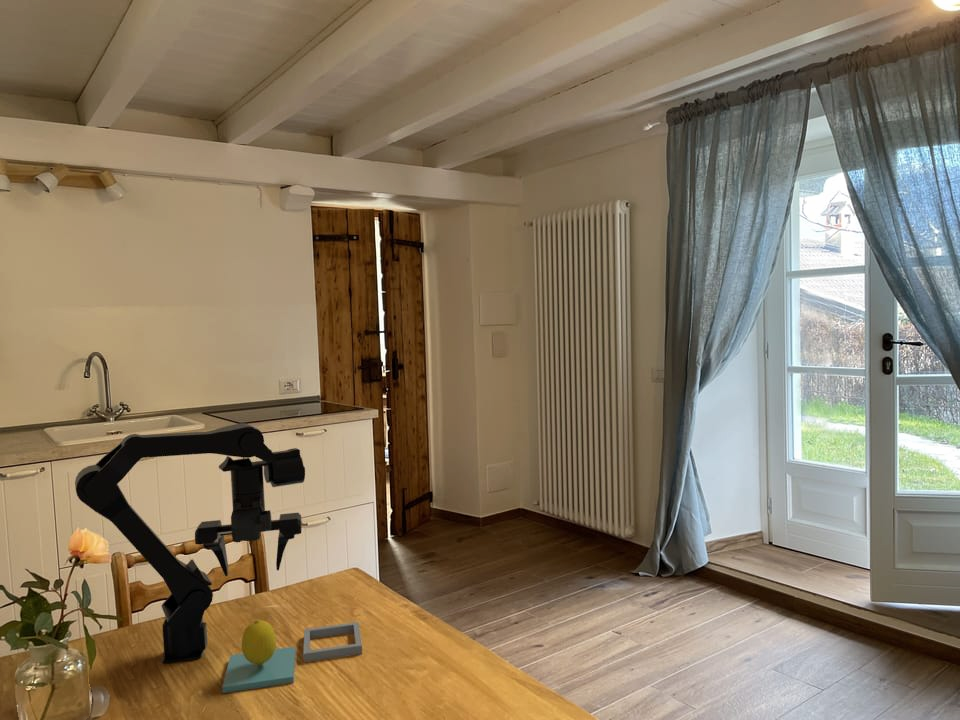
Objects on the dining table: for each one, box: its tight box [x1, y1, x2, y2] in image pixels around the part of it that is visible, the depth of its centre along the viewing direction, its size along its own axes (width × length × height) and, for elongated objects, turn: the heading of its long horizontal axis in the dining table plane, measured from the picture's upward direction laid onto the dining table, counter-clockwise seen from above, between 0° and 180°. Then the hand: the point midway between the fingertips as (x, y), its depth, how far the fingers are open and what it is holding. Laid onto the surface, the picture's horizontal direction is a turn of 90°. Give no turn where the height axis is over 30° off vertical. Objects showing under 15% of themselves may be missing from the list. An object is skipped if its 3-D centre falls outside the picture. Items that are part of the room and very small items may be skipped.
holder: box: [303, 621, 363, 663], centre depth 126 cm, size 10×10×2 cm
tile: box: [221, 645, 297, 694], centre depth 117 cm, size 11×11×1 cm
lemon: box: [241, 618, 277, 666], centre depth 117 cm, size 6×6×8 cm
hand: (252, 572), depth 130 cm, fingers open, 9 cm apart
